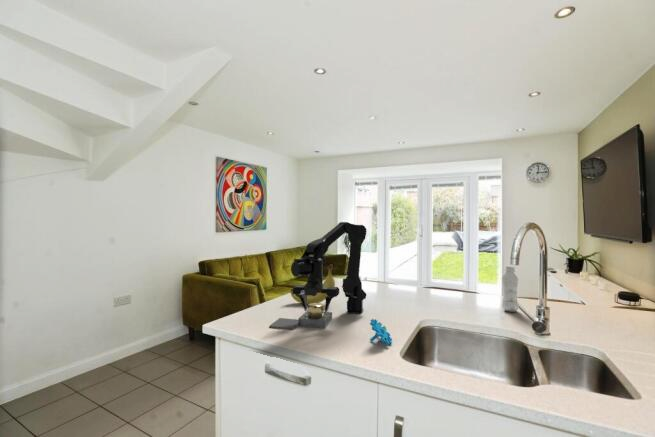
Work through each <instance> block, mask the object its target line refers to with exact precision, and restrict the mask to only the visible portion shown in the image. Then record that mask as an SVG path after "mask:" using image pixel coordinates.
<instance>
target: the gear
mask: <svg viewBox="0 0 655 437" xmlns="http://www.w3.org/2000/svg"><path fill="white" fill-rule="evenodd" d="M369 324H370V326H371V330H372V331H374V332H375V333H374V335H372V337H371V338H370V339H369V340H370V341H371V342H373V341H375V340H376V339H377V338H378V337H380V338H379V339H380V341H381V342H382V343H385V345H387V346H388V345H392V344H393V339H392V337H391V334H390V332H388V328H387V326H386V325H383V324H382V322H380V321H379V322H378V319H375V318H372V319H370V322H369ZM382 325H383V326H382Z"/></svg>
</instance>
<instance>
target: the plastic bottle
mask: <svg viewBox="0 0 655 437" xmlns="http://www.w3.org/2000/svg"><path fill="white" fill-rule="evenodd" d="M504 271H505V273H504V274H503V275H502V277H501V280H502V287H503V288H502V289H503V290H502V291H503V295H502V296H503V297H502V303H501V307H502V309H503V310H504V311H507V312H510V313H514V312H515V313H516V312H517V311H518V310H519V302H518V296H517V295H518V292H517V291H518V284H519V278H518V276H517V274H516V273H515V272H516V268H515V267H514V266H505V270H504Z"/></svg>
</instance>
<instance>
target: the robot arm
mask: <svg viewBox="0 0 655 437" xmlns="http://www.w3.org/2000/svg"><path fill="white" fill-rule="evenodd" d="M344 234H347V239H348V241H349V243H350V245H349V246H350V247H349V259H348V271H347V276H346V278H343V279H342V285H341V288H342V291H343V293H344V296H345V297H346V298H347V301H346V312H347V313H350V314H360V315H361V314H362V313H363V312H364V307H363V306H364V302H363V301H364V300H366V299H367V298H366V297H367V293H366V292H365V291H364V289H363V287H362V286H363V285H362V280H361V277H360V266H361V265H360V264H361V254H362V253H361V252H362V244H363V243H364V241H365V240H366V237H367V228H366V226H365V225H363V224H354V223H351V222H348V221H340V222H338V223H337V225H335V226H334V227H333V228H332V229H330V231H328V232H327V233H325V235H323V236H321V237H320V238H317V239H314V240H313V241H311V242H309V243H308V244H306V248H305V250H304V252H303V254H302V256H301V258H294V259H293V262H292V264H291V266H290V271H291V274H292V276H293V277H302V276H307V281H306V282H305V284H296V285H295V286H293V287H292V288H291V289H292V294H296V296H298V297H299V298H300V299H301V301H302V303H301V305H302V307H303V309H304V312H306V311H307V310H308V304H307V296H308V295H312V296H316V295H317V293H326V294H327V296H326V297H325V305H324V307H325V308H324V312H325V313H326V312H328V310H329V306H330V305H331V301H332V300H333V299H334V298H336V297H337V296H339V295H340V288H339V287H338V286H335V287H329V288H328V289H323V283H324V280H323V278H324V274H323V273H324V272H323V268H324V267H323V263H325V262H327V259H326V258H325V257H324V256H325V254H326V253H327V252H328V251H329V247H330V246H331V245H332V244H333V243H335V242H336V241H337V240H338V239H340V237H342V236H343V235H344Z"/></svg>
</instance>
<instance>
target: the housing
mask: <svg viewBox="0 0 655 437" xmlns="http://www.w3.org/2000/svg"><path fill="white" fill-rule="evenodd" d="M297 320H298V326H297V327H306V328H317V329H326V328H327V327H328V325H329V324H330V323H331V321H332V320H333V312H331V311H327V312H326V313H325V311H324V315H323V316H322V317H318V318H313V317H310V316H308V309H307V311H304V312H303V314H302V315H301V316H299V318H298V319H297Z"/></svg>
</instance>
